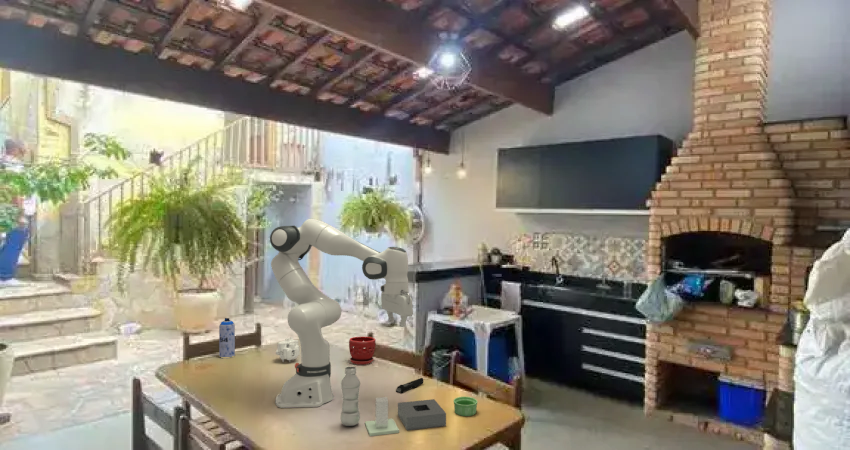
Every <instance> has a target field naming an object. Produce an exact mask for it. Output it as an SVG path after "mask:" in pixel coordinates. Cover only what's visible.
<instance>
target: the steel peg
mask: <svg viewBox="0 0 850 450" xmlns="http://www.w3.org/2000/svg"><path fill="white" fill-rule="evenodd" d="M388 419H389V400H388V397H387V396H386V397H385V396H384V397H375V420H376V428H388Z"/></svg>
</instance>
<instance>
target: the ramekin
mask: <svg viewBox="0 0 850 450" xmlns="http://www.w3.org/2000/svg"><path fill="white" fill-rule="evenodd" d="M478 402H479V401H478V400H477V399H476V398H474V397H472V396H471V397H470V396H459V397H455V398H454V399H453V406H454V407H453V408H454V413H455V415H458V416H462V417H470V416H474V415H475V414H477V406H478Z"/></svg>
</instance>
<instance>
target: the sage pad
mask: <svg viewBox="0 0 850 450" xmlns="http://www.w3.org/2000/svg"><path fill="white" fill-rule="evenodd" d="M364 425H365V428H366V431H367V433H368V435H369V437H375V436H384V435H393V434H399V433H400V429H399V427H398V426H397V423H396V421H395V420H394V418H393V417H392V418H388V428H376V419H375V420H367V421H364Z"/></svg>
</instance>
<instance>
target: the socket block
mask: <svg viewBox="0 0 850 450" xmlns="http://www.w3.org/2000/svg"><path fill="white" fill-rule="evenodd" d="M397 416H398V418H399V419H400V421H401V423H402V424H403V426H404V428H405V430H406V432H408V431H415V430H425V429H432V428H441V427H446V426H447V413H446V411H445V410H444V409H443V408H442V407H441V405H440V404H439V403H438V402H437V401H436V400H435V398H434V399H433V398H432V399H423V400H421V399H420V400H413V401H403V402H402V401H401V402H398V403H397Z"/></svg>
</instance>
